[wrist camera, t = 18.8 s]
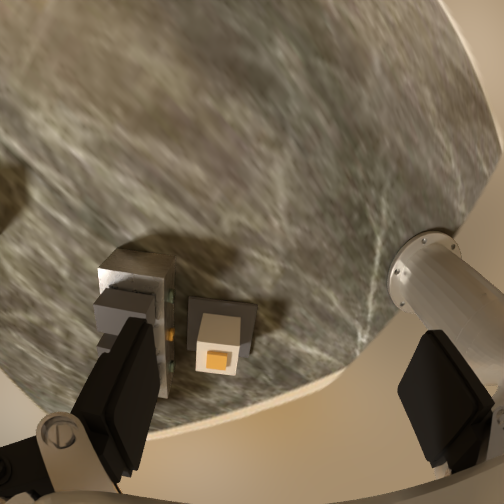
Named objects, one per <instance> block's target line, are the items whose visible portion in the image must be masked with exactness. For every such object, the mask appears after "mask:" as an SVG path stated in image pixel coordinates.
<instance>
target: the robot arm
mask: <svg viewBox="0 0 504 504" xmlns="http://www.w3.org/2000/svg"><path fill="white" fill-rule="evenodd" d="M461 258H462V257H461V252H460V249H459V247H458V245H457V243H456V242H455V241H454V239H452V238H451V237H450V236H448V235H447V234H445V233H443V232H439V231H428V232H424V233H421V234H419V235H417V236H415V237H413V238H412V239H410V240H409V241H408V242H407V243H406V244H405V245H404V246H403V247H402V248H401V249H400V250H399V252H398V253H397V254H396V256H395V258H394V260H393V261H392V264H391V266H390V269H389V273H388V278H387V287H388V292H389V295H390V297H391V299H392V301H393V302H394V304H395V305H396V306H397V307H398V308H399V309H401V310H403V311H404V312H408V313H416V314H417V316H418V317H419V318H420V320H421V321H422V322H423V323H424V325H425V326H426V328H427V329H428V331H427V332H426V333H425V334H424V335H423V336H422V337H421V339H420V342H419V344H418V346H417V348H416V351H415V353H414V355H413V357H412V359H411V361H410V363H409V365H408V368H407V369H406V372H405V373H404V375H403V378H402V379H401V381H400V383H399V385H398V395H399V397H400V399H401V402H402V404H403V406H404V409H405V411H406V413H407V415H408V418H409V420H410V422H411V424H412V427H413V429H414V431H415V434H416V436H417V438H418V441H419V443H420V446H421V448H422V451H423V453H424V455H425V458H426V460H427V461H429V462H430V464H431V466H432V468H434V467H435V469H434V470H435V477H436V480H434V481H431V482H428V483H425V484H421V485H418V486H415V487H411V488H407V489H403V490H399V491H395V492H391V493H387V494H382V495H378V496H373V497H368V498H362V499H357V500H350V501H344V502H337V503H329V504H504V294H503V293H502V292H501V291H500V290H499V289H497V288H496V287H495V286H494V285H493V284H492V283H490V282H489V281H488V280H487V279H485V278H484V277H483V276H482V275H481V274H480V273H478V272H477V271H476V270H475V269H473V268H472V267H471V266H470V265H468V264H467V263H466V262H465V261H463V260H462V259H461ZM483 385H488V386H491V385H492V386H494V385H498V389H497V391H496V393H495V394H494V395H493V396H492V397H491V396H490V394H489V393H488V391H487V390H486V388H485V387H484V386H483ZM159 391H160V377H159V370H158V363H157V356H156V349H155V341H154V332H153V326H152V324H149V323H148V322H147V320H146V319H145V318H137V317H128V319H127V320H126V322H125V324H124V326H123V328H122V329H121V331H120V333H119V335H118V337H117V339H116V340H115V342H114V344H113V346H112V348H111V350H110V352H109V353H106V352H104V353H102V354H101V355H100V357H99V358H98V360H97V362H96V364H95V366H94V368H93V370H92V372H91V373H90V375H89V377H88V379H87V381H86V383H85V385H84V387H83V389H82V391H81V393H80V395H79V397H78V399H77V401H76V403H75V405H74V407H73V409H72V411H71V413H68V412H54V413H51V414H49V415H46V416H45V417H44V418H43V419H42V420H41V421H40V423H39V424H38V426H37V429H36V436H33V437H30V438H27V439H24V440H21V441H18V442H15V443H12V444H9V445H6V446H3V447H0V504H187V503H179V502H172V501H165V500H158V499H153V498H146V497H139V496H133V495H128V494H123V493H122V492H121V490H120V488H119V487H118V485H117V483H119V482H120V480H121V476H126V477H131V475H132V471H133V470H136V471H137V470H138V468H139V464H140V461H141V457H142V453H143V449H144V445H145V442H146V438H147V434H148V430H149V427H150V423H151V419H152V416H153V412H154V408H155V405H156V401H157V398H158V394H159Z"/></svg>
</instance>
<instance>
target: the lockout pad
mask: <svg viewBox="0 0 504 504" xmlns="http://www.w3.org/2000/svg"><path fill="white" fill-rule="evenodd" d="M257 307H258V305H257V304H250V303H241V302H233V301H224V300H216V299H208V298H201V297H193V296H189V300H188V327H187V350H190V351H197V339H198V334H199V330H200V325H201V320H202V316H203V313H207V314H215V315H224V316H232V317H241V322H240V347H239V354H238V357H249V352H250V346H251V341H252V335H253V330H254V324H255V319H256V313H257Z"/></svg>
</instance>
